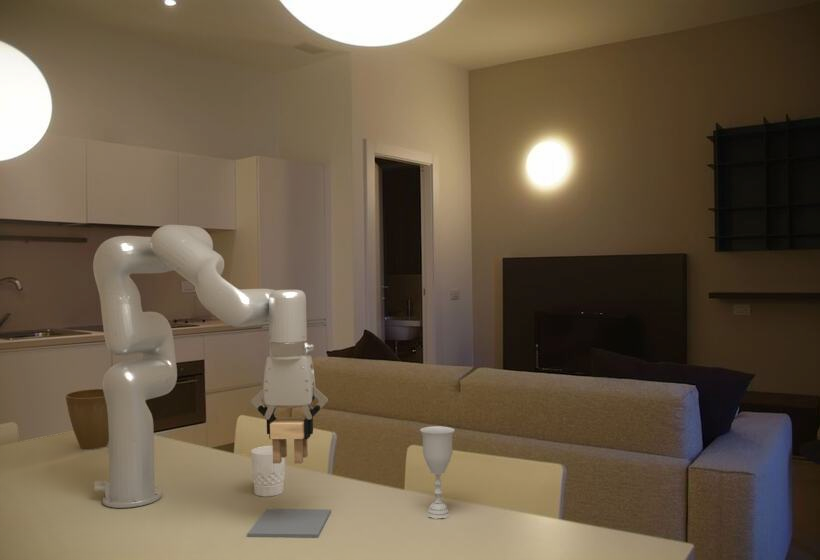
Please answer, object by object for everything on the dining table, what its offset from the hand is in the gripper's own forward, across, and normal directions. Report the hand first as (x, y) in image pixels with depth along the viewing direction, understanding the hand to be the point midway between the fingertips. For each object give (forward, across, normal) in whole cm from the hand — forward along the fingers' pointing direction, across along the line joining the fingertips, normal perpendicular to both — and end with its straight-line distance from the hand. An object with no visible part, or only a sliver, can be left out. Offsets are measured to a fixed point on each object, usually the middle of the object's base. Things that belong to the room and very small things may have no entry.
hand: (290, 436), depth 143 cm
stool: (+5, 0, 0) cm, 5 cm away
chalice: (+18, -30, -6) cm, 35 cm away
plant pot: (+18, +74, -61) cm, 98 cm away
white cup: (+18, +10, -20) cm, 29 cm away
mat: (+18, 0, 0) cm, 18 cm away
